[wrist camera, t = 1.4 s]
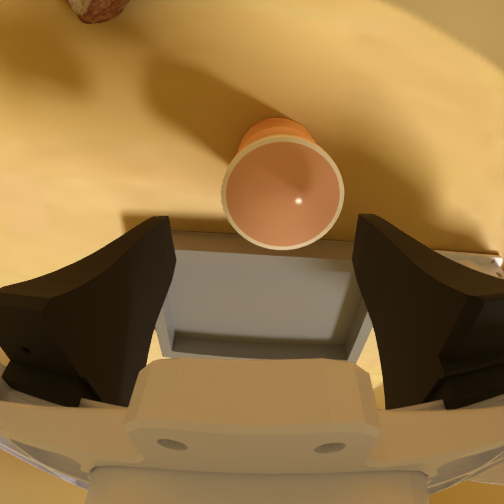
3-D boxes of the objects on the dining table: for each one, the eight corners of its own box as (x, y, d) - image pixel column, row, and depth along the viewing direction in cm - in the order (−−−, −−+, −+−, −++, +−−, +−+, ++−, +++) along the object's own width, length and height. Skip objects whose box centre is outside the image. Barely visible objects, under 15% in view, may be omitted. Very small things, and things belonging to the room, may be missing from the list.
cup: (323, 118, 18) (353, 144, 12) (313, 196, 21) (333, 253, 15) (236, 112, 18) (222, 133, 12) (234, 191, 21) (221, 246, 15)
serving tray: (386, 244, 22) (397, 262, 20) (350, 346, 29) (354, 366, 27) (150, 229, 23) (139, 247, 20) (168, 337, 29) (162, 356, 27)
